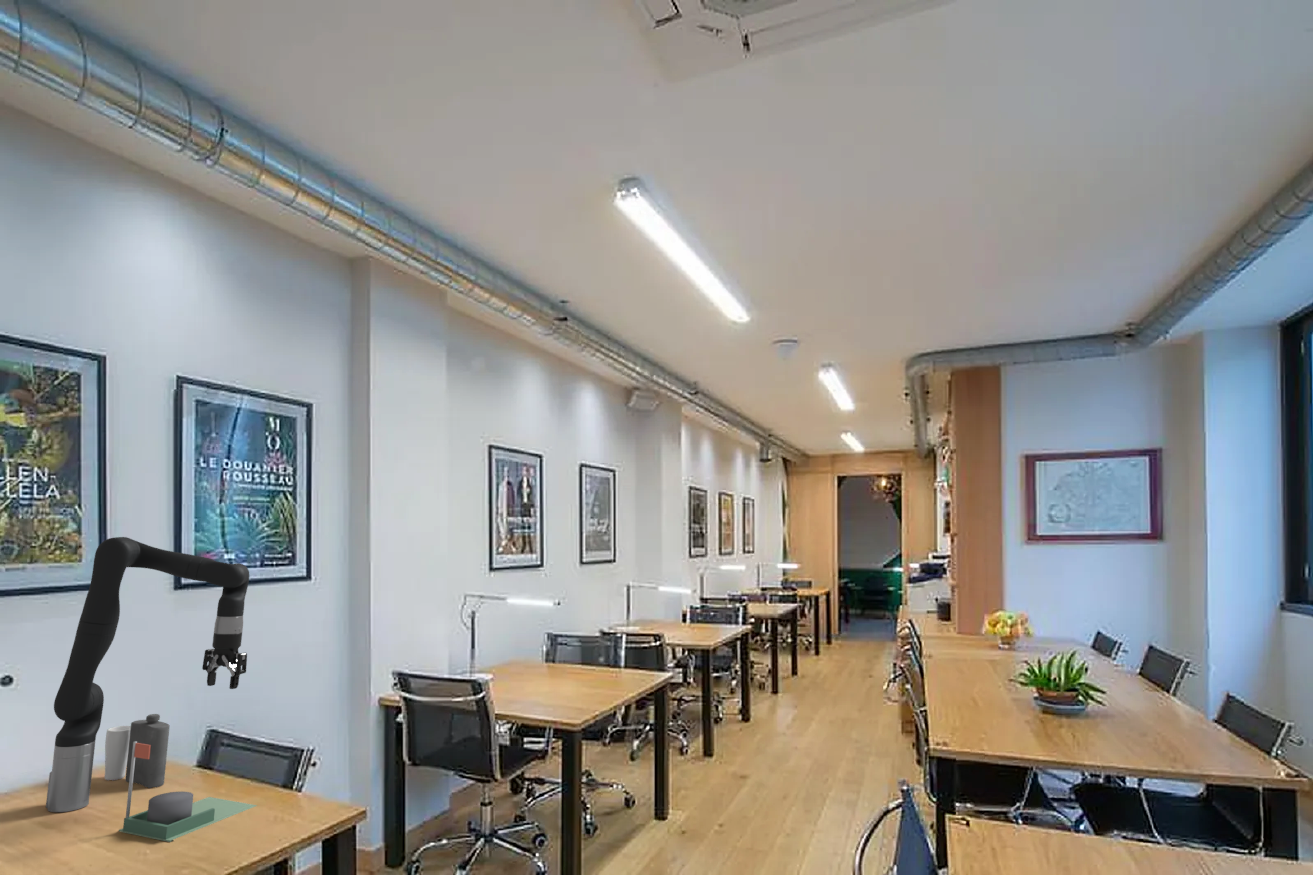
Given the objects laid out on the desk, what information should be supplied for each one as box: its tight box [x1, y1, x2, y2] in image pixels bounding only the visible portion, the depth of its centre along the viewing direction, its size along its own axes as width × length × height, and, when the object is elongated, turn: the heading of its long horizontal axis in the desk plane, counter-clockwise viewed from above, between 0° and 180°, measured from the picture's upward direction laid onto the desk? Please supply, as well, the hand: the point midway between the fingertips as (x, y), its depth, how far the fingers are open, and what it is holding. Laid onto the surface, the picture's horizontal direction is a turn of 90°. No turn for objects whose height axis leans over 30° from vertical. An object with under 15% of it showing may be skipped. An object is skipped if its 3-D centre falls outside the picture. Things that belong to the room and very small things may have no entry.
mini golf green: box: [118, 741, 258, 843], centre depth 211 cm, size 18×27×22 cm, turn 161°
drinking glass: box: [103, 725, 131, 781], centre depth 241 cm, size 7×7×15 cm
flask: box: [124, 713, 170, 789], centre depth 238 cm, size 15×6×20 cm, turn 63°
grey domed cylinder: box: [147, 791, 194, 825], centre depth 204 cm, size 10×10×7 cm
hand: (222, 687), depth 229 cm, fingers open, 8 cm apart
